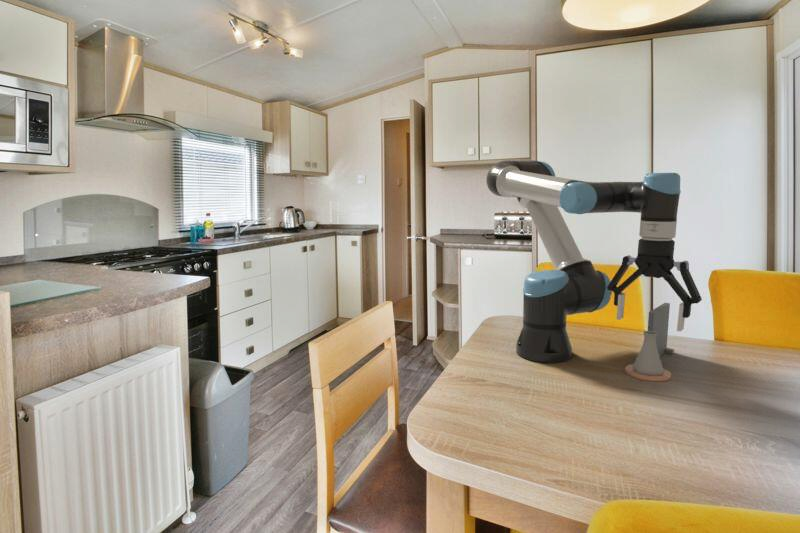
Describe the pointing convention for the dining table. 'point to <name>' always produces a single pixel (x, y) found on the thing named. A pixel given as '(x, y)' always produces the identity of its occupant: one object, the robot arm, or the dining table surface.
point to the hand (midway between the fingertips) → (648, 324)
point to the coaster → (648, 377)
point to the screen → (660, 327)
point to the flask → (649, 356)
